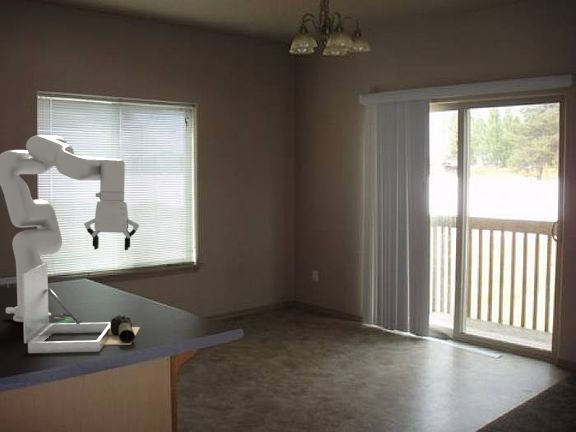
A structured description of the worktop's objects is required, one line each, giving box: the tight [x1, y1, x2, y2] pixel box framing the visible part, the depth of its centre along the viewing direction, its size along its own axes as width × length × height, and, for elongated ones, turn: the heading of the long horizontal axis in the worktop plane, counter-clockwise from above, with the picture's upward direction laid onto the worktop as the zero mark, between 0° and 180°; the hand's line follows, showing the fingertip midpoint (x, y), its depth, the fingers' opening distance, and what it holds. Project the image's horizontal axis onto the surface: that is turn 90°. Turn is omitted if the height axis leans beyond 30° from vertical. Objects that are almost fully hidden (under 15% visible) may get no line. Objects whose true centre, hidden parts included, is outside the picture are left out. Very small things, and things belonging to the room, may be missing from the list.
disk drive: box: [49, 312, 83, 324], centre depth 214 cm, size 10×3×15 cm
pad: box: [103, 326, 141, 346], centre depth 199 cm, size 8×20×1 cm, turn 5°
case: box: [22, 262, 111, 354], centre depth 192 cm, size 21×23×23 cm
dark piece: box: [110, 314, 136, 344], centre depth 197 cm, size 18×7×6 cm, turn 18°
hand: (111, 249), depth 204 cm, fingers open, 9 cm apart
